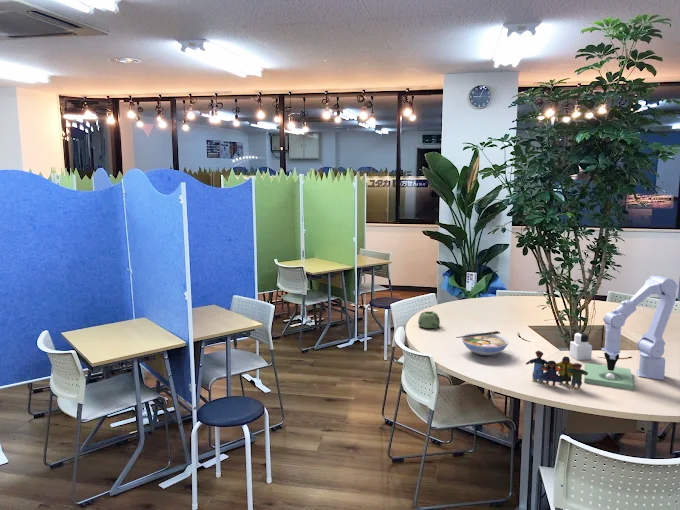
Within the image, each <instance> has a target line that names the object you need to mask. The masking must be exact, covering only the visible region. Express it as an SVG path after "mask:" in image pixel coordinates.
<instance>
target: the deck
mask: <svg viewBox="0 0 680 510" xmlns="http://www.w3.org/2000/svg"><path fill="white" fill-rule="evenodd" d="M584 371H586V372H588V375H587V376H586V375H583V378H584V382H583V383H584V384H592V385H597V386H602V387H603V386H605V387H609V388H610V387H611V388H618V389H624V390H630V391H634V387H635V384H634V379H633V375H632V371H631V369H630V368H624V367H617V366H615V368H614V371H610V370H608V368H607V365H603V364H596V363H589V362H584ZM608 373H612V374H614V376H615V379H608V378H606V375H607V374H608Z"/></svg>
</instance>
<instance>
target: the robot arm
mask: <svg viewBox="0 0 680 510" xmlns="http://www.w3.org/2000/svg"><path fill="white" fill-rule="evenodd" d="M678 288H679V285H678V284H677V282H676V281H675V280H674V279H673V278H669V277H664V276H660V275H658V274H653V275H651V276H650V277H649V278H648V279H646V280H645V282H644V284H643V286H642V287H641V288H640V289H639V290H638V291H637V292H636V293H635V294H634V295H633V296H632V297H631V298H630V299H625V300H623V301H620V303H619V305H618V306H617V307H616V308H615V309H612V311H610V312H607V313H606V314H605V315H604V317H603V318H602V319H603V322H604V324H605V337H604V347H601V351H602V352H604V353H603V354H604V355H603V356H604V358H605V360H606V366H607V368H608V370H610V371H614V368H615V367H616V364H617V361H619V359H620V353H621V350H620V348H621V337H622V336H621V335H622V334H621V333H622V327H623V326H625V323H626V321H627V319H628V318H629V317H630V316H631V315H633V313H634V312H636V310H637V307H638V305H640V304H641V303H642V302H644V301H645V300H646V299H647V298H648V297H650V296H651V295H657V297H658V298H659V300H658V303H657V306H656V308H655V311H654V314H653V316H652V319H651V322H650V325H649V327H648V330H647V332H645V333H643V334H642V335H641V337H640V338H639V340H638V341H637V343H636V348H637V350H638V352H639V361H638V362H639V365H638V369H636V372H637V376H638V377H641V378H647V379H655V380H660V381H661V380H662V381H663V380H665V373H666V369H665V368H666V359H665V358H666V357H663V355H664V353H665V345H666V342H665V339H664V338H663V335H664V333H665V329H666V327H667V325H668V321H669V320H670V316H671V314H672V310H673V308H674V305H675V303H676V299H677V289H678Z"/></svg>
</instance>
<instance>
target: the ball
mask: <svg viewBox="0 0 680 510" xmlns="http://www.w3.org/2000/svg"><path fill="white" fill-rule="evenodd" d="M606 378H608V379H615V376H614V374H612V373H608V374H607V375H606Z"/></svg>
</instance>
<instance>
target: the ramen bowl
mask: <svg viewBox="0 0 680 510" xmlns="http://www.w3.org/2000/svg"><path fill="white" fill-rule="evenodd" d="M500 334H501V332H500V331H497V330H495V331H488V332H471V333H467V334H466V333H465V334H464V335H462V336H456V338H457V339H458V338H459V339H460V338H461V340H462V343H463V345H464V346H465V347H466V349H468V350H469V351H471V352H472V353H475V354H477V355H479V354H480V355H479V356H482V355H490V356H492V355H498V354H499V353H501V352H502V351H504V350H505V349H506V348H507V346H508V345H509V339H507V338H506V337H504V336H501V335H500Z"/></svg>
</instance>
